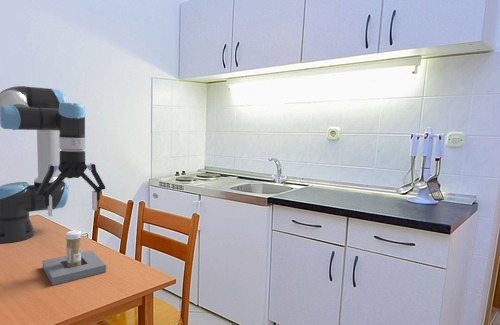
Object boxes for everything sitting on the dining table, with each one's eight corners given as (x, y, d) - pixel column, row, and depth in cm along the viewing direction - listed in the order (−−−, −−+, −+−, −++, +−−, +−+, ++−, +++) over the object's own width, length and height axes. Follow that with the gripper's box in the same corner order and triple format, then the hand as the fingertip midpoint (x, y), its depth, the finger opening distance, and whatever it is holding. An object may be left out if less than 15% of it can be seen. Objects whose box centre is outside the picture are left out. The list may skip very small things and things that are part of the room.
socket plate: (42, 267, 113) (42, 260, 112) (91, 256, 123) (91, 250, 123) (52, 285, 101) (52, 277, 100) (106, 271, 111) (106, 264, 111)
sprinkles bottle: (81, 271, 111) (80, 233, 109) (65, 273, 109) (65, 234, 108) (81, 266, 115) (81, 229, 114) (67, 268, 113) (66, 230, 112)
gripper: (29, 151, 97) (31, 220, 99) (114, 150, 113) (114, 209, 116) (25, 149, 102) (27, 215, 105) (107, 148, 119) (107, 205, 121)
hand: (73, 212), depth 110 cm, fingers open, 13 cm apart
